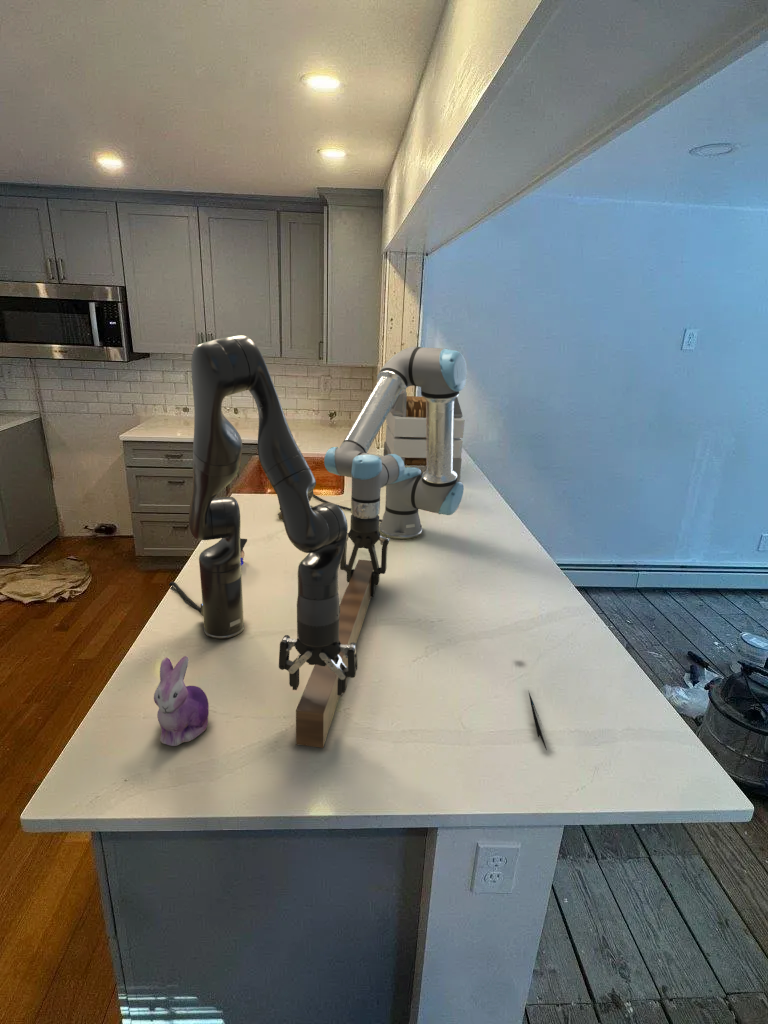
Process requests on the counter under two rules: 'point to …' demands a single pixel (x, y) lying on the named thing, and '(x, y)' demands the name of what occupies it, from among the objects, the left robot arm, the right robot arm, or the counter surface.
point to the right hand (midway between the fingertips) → (362, 593)
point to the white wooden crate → (417, 432)
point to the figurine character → (242, 544)
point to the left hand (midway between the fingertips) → (318, 690)
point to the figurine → (179, 705)
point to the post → (323, 682)
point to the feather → (536, 721)
